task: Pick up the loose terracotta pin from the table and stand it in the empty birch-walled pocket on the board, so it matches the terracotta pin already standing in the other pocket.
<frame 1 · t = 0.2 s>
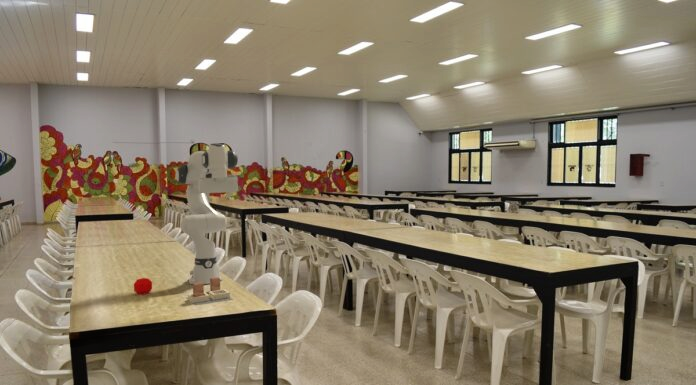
hand: (219, 201, 254), 47 cm above the table, tool pointing down, fingers open, 8 cm apart
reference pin: (198, 300, 234), point 1 cm above the table, touching layout board
ball: (143, 293, 257), on the table
terracotta pin: (215, 293, 252), on the table
layout board: (209, 301, 236), on the table
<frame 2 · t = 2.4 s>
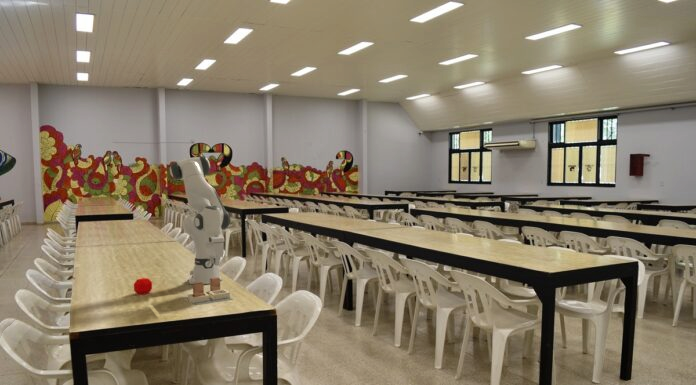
hand: (214, 264, 251), 15 cm above the table, tool pointing down, fingers open, 8 cm apart
nothing on the table moved.
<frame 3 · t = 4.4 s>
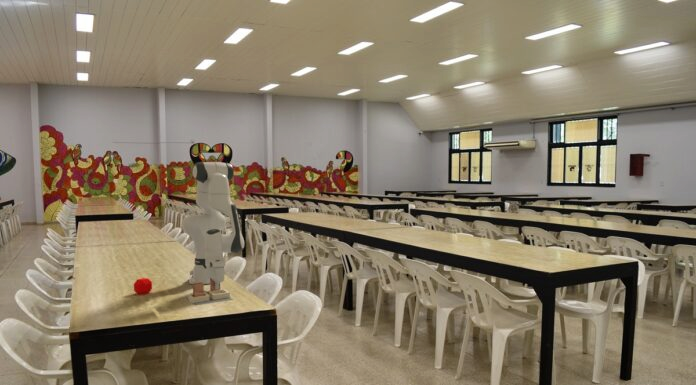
hand: (215, 288, 252), 3 cm above the table, tool pointing down, fingers closed on terracotta pin, 4 cm apart
terracotta pin: (215, 293, 252), on the table, touching gripper
everything else where it was.
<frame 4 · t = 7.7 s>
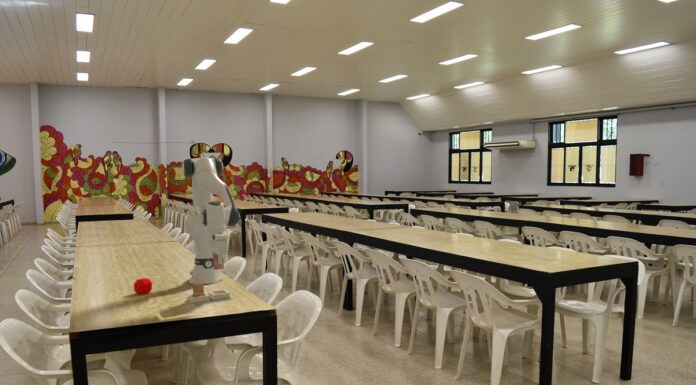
hand: (218, 263, 239), 18 cm above the table, tool pointing down, fingers closed on terracotta pin, 4 cm apart
terracotta pin: (218, 268, 239), point 15 cm above the table, touching gripper
everything else where it was.
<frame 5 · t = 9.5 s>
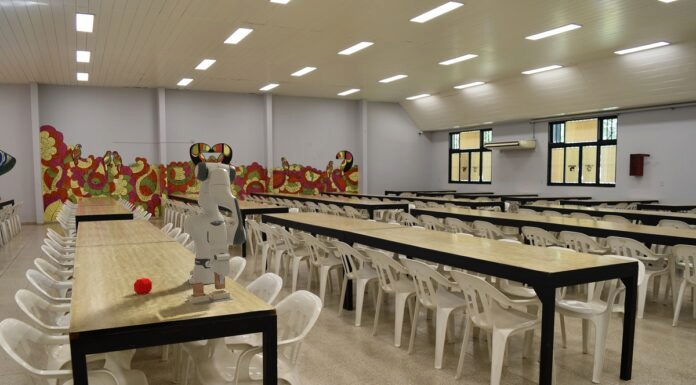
hand: (219, 282, 239), 8 cm above the table, tool pointing down, fingers closed on terracotta pin, 4 cm apart
terracotta pin: (220, 288, 239), point 5 cm above the table, touching gripper
everything else where it was.
when the fingers open (5 cm above the table, at t = 10.9 s): terracotta pin stays where it is, resting on layout board.
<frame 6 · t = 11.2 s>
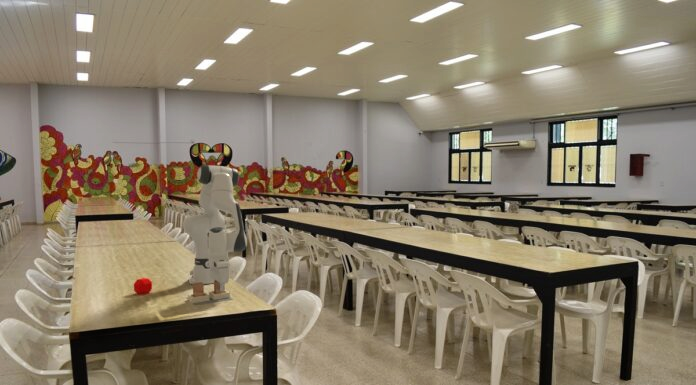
hand: (219, 289, 239), 5 cm above the table, tool pointing down, fingers open, 7 cm apart
terracotta pin: (219, 297, 239), point 1 cm above the table, touching layout board
everything else where it was.
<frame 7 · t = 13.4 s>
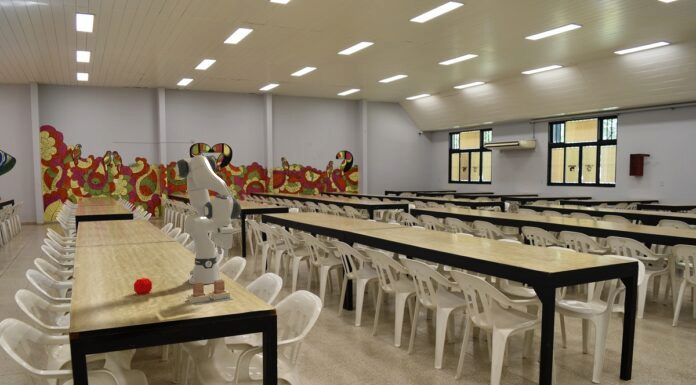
hand: (222, 255, 243), 21 cm above the table, tool pointing down, fingers open, 8 cm apart
nothing on the table moved.
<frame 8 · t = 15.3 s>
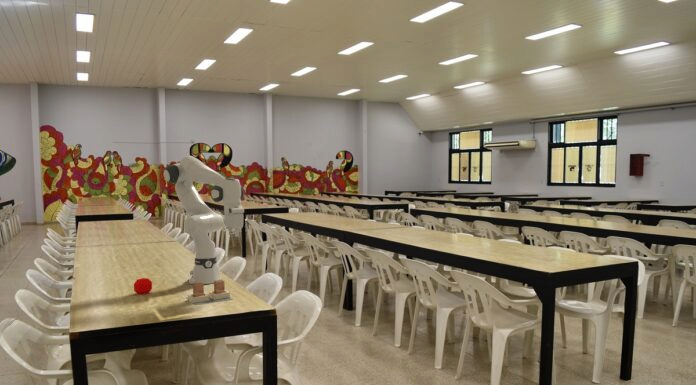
hand: (233, 235, 254), 29 cm above the table, tool pointing down, fingers open, 8 cm apart
nothing on the table moved.
at the end: terracotta pin 0.1 cm from the target spot on the layout board, point 1.2 cm above the layout board's base; terracotta pin tilted 0°; the gripper is holding nothing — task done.
